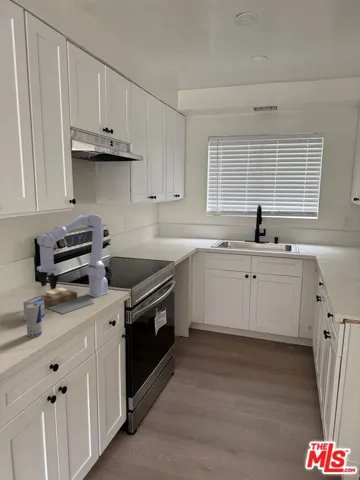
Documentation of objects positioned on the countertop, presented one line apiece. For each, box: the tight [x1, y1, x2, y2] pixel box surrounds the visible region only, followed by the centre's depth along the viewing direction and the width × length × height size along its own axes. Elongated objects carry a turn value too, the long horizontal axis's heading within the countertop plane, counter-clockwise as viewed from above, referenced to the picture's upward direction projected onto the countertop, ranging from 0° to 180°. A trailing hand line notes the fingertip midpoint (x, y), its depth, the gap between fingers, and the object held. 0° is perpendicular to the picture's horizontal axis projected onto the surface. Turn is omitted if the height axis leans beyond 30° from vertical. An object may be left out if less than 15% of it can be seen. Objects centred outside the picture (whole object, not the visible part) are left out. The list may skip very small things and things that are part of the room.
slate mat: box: [47, 297, 95, 315], centre depth 161 cm, size 18×12×1 cm, turn 144°
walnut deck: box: [36, 289, 78, 308], centre depth 168 cm, size 16×10×4 cm, turn 144°
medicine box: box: [22, 296, 46, 322], centre depth 146 cm, size 8×4×9 cm, turn 164°
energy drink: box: [25, 303, 43, 338], centre depth 129 cm, size 5×5×12 cm
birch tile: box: [45, 287, 70, 298], centre depth 167 cm, size 9×6×2 cm, turn 144°
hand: (48, 287), depth 159 cm, fingers open, 7 cm apart
